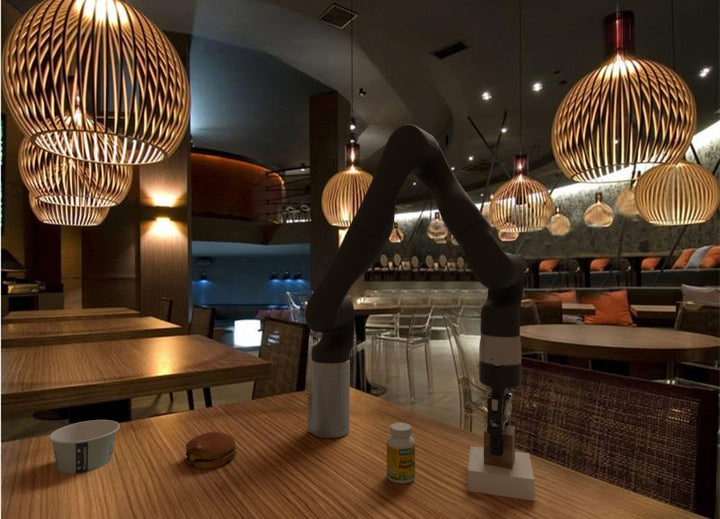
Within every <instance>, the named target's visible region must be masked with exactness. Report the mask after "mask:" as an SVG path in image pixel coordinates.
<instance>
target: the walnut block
mask: <svg viewBox="0 0 720 519" xmlns="http://www.w3.org/2000/svg"><path fill="white" fill-rule="evenodd" d="M493 427H499V424H497V423H495V422H493ZM504 431H505V432H504V435H503V455H502V456H496V455H492V454H491V453H490V433H487V424H486V426H485V427H484V430H483V448H484V464H487V465H492V466H497V467H502V468H507V469H513V465H514V460H515V452H516V426H514V425H509V426H508V425H504Z"/></svg>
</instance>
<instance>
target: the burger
mask: <svg viewBox="0 0 720 519" xmlns="http://www.w3.org/2000/svg"><path fill="white" fill-rule="evenodd" d="M185 450H186V451H185V452H186V453H185V456H186V457H185V461H186V462H188V465H190V466H193V467H194V468H195V469H197V470H211V469H216V468H219V467H221V466H224V465H226V464H227V462H230V461H232V459H234V458H235V457H236V456H237V446H236V440H235V439H234V437H232V435H230V434H227V433H225V432H223V431H209V432H206V433H205V432H204V433H203V434H200V435H196V436H195V437H193V438H192V439H189V441H188V442H187V443H186V445H185Z"/></svg>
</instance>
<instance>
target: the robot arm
mask: <svg viewBox="0 0 720 519" xmlns="http://www.w3.org/2000/svg"><path fill="white" fill-rule="evenodd" d="M382 150H383V151H382V154H381V156H380V158H379V160H378V161H379V162H378V164H377V166H376V169H375V172H374V174H373V177H372V180H371V182H370V184H369V186H368V188H367V190H366V192H365V195H364V197H363V198H362V201H361V203H360V204H359V207H358V209H357V212H356V213H355V215H354V216H353V218H352V220H351V223H350V224H349V227H348V228H347V231H346V232H345V234H344V237H343V239H342V241H341V244H340V246H339V247H338V249H337V251H336V252H335V255H334V257H333V258H332V261H331V263H330V265H329V267H328V269H327V270H326V272H325V274H324V275H323V277H322V278H321V280H320V281H319V283H318V285H317V286H316V288H315V290H314V291H313V293H312V294H311V296H310V297H309V299H308V301H307V304H306V307H305V310H304V318H305V323H306V325H307V327H308V328H309V330H311V331H312V332H315V333H321V334H322V335H321V338H320V340H319V341H318V342H317V343H316V344H315V345H314V346H313V347H312V349H311V369H310V370H311V372H310V373H311V380H310V381H311V384H310V385H311V390H309V391H308V392H307V417H306V418H307V433H311V435H313V436H315V437H318V438H321V439H337V438H340V437H341V438H342V437H344V436H346V435H348V434H349V432H350V422H351V421H350V402H351V401H350V399H351V396H350V394H351V392H350V391H351V390H350V389H351V388H350V387H351V386H350V384H351V383H350V380H351V377H350V376H351V373H350V372H351V367H350V366H351V359H350V358H351V352H352V349H353V346H354V336H355V324H356V323H355V319H356V316H355V315H356V314H355V307H354V303H353V301H352V299H351V298H350V297H349V295H348V293H349V290H351V288H352V287H353V286H354V284H355V283H356V282H357V281H358V280H359V278H361V277H362V276H363V275H364V274H365V273H367V271H368V270H369V269H370V268H371V267H372V266H373V265H374V264H375V263H376V261H377V260H379V257H380V256H381V254H382V252H383V251H384V250H385V247H386V245H387V244H388V241H389V240H390V237H391V235H392V232H393V229H394V225H395V218H396V206H397V201H398V197H399V194H400V191H401V190H402V189H403V188H402V187H403V186H404V184H405V182H406V180H407V179H408V177H409V175H411V174H413V175H414V176H415V177H416V178H417V179H418V180H419V181H420V182H421V183H422V184H423V185H424V186H425V187H426V189H427V190H428V191H429V192H430V194H431V196H432V198H433V200H434V203H435V204H436V207H437V209H438V213H439V215H440V217H441V220H442V221H443V223H444V225H445V226H446V228H447V229H448V231H449V232H450V234H451V235H452V237H453V238H454V239H455V241H456V242H457V244H458V246H459V247H460V248H461V250H462V251H463V254H464V257H465V259H466V261H467V264H468V265H469V268H470V270H471V272H472V274H473V275H474V276H475V278H476V279H477V281H478V282H479V283H480V284H481V285H482V286H483V287H485V288H487V296H486V297H487V299H486V302H485V303H484V304H483V305H482V307H481V311H480V339H479V347H478V348H479V349H478V350H479V351H478V352H479V353H478V355H479V356H478V363H479V364H478V367H479V368H478V378H479V379H478V380H479V382H480V384H482V385H483V386H484V387H485V386H486V387H489V388H491V391H489V394H487V400H486V403H487V408H486V410H487V411H486V412H487V414H486V415H487V416H486V418H487V419H486V421H487V422H486V425H487V433H490V453H491V454H492V455H496V456H502V455H503V435H504V432H505V431H504V425H508V426H510V417H511V412H512V410H513V409H512V408H513V406H512V405H513V404H512V402H513V394H512V392H511V391H512V389H516V388H519V387H521V385H522V342H521V314H520V313H521V311H520V310H521V305H522V300H523V294H524V286H525V268H524V265H523V262H522V261H521V259H520V258H519V257H518V256H516V255H515V254H513V253H510V252H505V251H504V250H503V249H502V248H501V246H500V245H499V244H498V242H497V240H496V239H495V237H494V234H495V231H494V229H493V228H492V226H491V224H490V223H489V221H488V220H487V218H486V217H485V216H484V214H483V213H482V212H481V210H480V208H478V207H477V205H476V204H475V203H474V201H473V200H472V199H471V197H470V196H469V194H468V193H467V192H466V190H465V189H464V188H463V187H462V185H461V184H460V182H459V180H458V179H457V178H456V176H455V175H454V172H453V171H452V169H451V167H450V165H449V163H448V161H447V159H446V157H445V154H443V151H442V149H441V147H440V145H439V143H438V141H437V139H436V138H435V137H434V136H433V135H432V134H430V133H429V132H427V131H425V130H424V129H422V128H421V127H418V126H417V125H415V124H411V123H406V124H402V125H400V126H398V127H397V128H396V129H395V130H394V131H392V133H391V134H390V136H389V137H388V139H387V142H386V143H385V146H384V148H383V149H382ZM495 422H496V424H499V427H493V423H495Z"/></svg>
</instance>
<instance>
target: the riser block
mask: <svg viewBox="0 0 720 519" xmlns="http://www.w3.org/2000/svg"><path fill="white" fill-rule="evenodd" d="M532 465H533V464H532V462H531V457H530V452H520V451H515V460H514V465H513V469H507V468H502V467H497V466H492V465H487V464H484V447H482V446H481V447H480V446H472V445H471V446H470V450H469V459H468V467H467V491H468V492H474V493H479V494H480V493H481V494H487V495H492V496H498V497H499V496H500V497H508V498H512V499H513V498H514V499H520V500H521V499H522V500H526V501H531V502H532V501H533V502H535V476H534V470H533V466H532Z"/></svg>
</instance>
